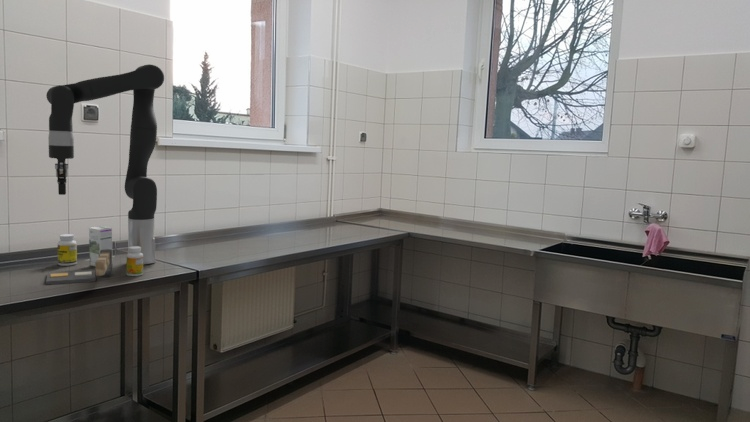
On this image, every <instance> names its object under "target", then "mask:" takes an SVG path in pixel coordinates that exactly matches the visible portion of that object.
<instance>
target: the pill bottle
mask: <svg viewBox="0 0 750 422" xmlns="http://www.w3.org/2000/svg"><path fill="white" fill-rule="evenodd" d="M74 239H75V234H72V233H67V234H65V233H64V234H60V235H59V241H58V242H57V265H58V266H60V267H68V266H69V267H71V266H74V265H77V264H78V244H77V241H76V240H74Z"/></svg>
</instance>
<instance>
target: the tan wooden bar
mask: <svg viewBox="0 0 750 422" xmlns="http://www.w3.org/2000/svg"><path fill="white" fill-rule="evenodd" d="M112 256H113V249H112V250H110V249H104V250H100V256H99V257H98V259H97V261H96V262H95V264H96V267H95V276H99V277H100V276H101V275H104V274H105V272H106V270H107V268H108V266H109V264H112Z"/></svg>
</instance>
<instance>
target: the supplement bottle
mask: <svg viewBox="0 0 750 422" xmlns="http://www.w3.org/2000/svg"><path fill="white" fill-rule="evenodd" d="M140 251H141V247H139V246H133V247H129V253H127V254H126V275H127V276H128V277H137V276H138V277H139V276H143V275H144V264H143V254H142V253H140Z"/></svg>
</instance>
